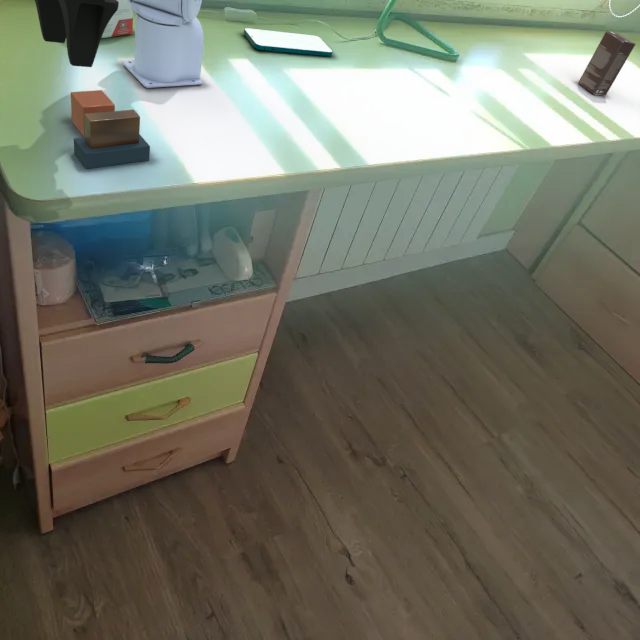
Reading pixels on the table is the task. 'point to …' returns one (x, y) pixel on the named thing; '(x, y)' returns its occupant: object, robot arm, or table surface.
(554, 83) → the table surface
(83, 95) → the reddish-orange block
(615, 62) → the box
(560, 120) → the table surface
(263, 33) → the smartphone
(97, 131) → the stepped two-tone block
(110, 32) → the ink box
